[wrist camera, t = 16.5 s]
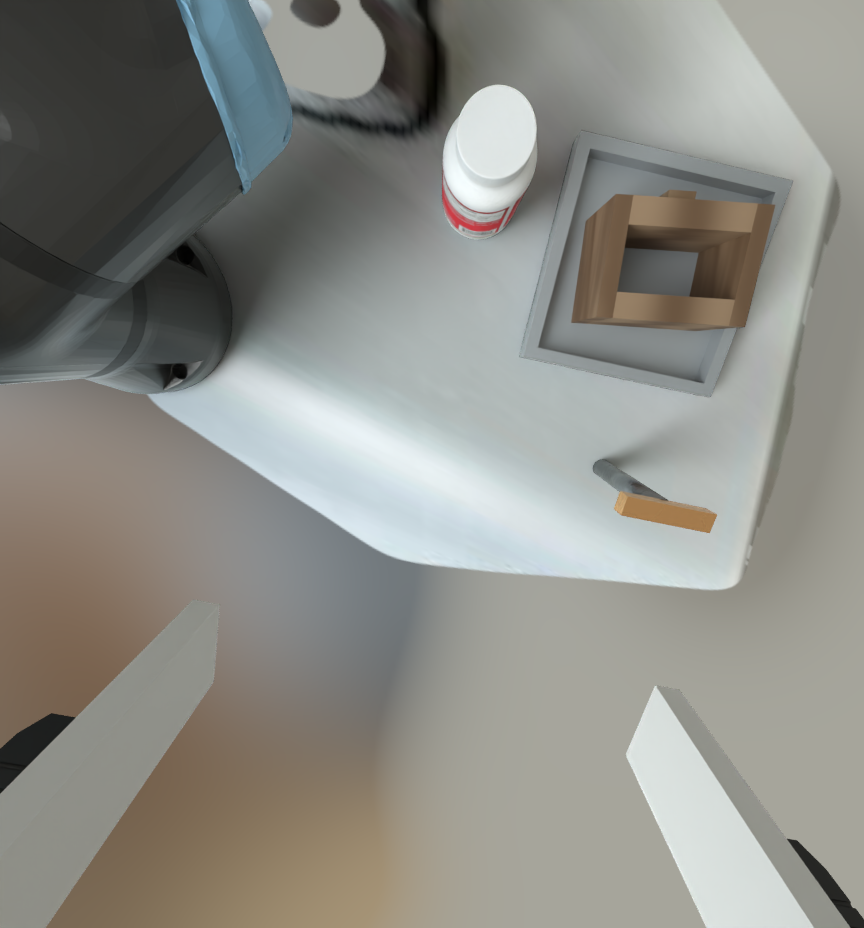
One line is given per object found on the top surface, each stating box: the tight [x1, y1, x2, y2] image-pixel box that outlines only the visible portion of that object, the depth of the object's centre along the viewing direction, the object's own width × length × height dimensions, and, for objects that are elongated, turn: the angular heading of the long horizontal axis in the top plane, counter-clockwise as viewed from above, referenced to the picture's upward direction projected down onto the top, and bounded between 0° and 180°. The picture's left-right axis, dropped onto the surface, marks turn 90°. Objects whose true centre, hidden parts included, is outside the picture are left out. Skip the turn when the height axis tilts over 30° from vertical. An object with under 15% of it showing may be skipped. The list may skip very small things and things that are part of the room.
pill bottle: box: [442, 85, 537, 240], centre depth 29 cm, size 6×6×11 cm
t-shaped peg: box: [593, 460, 717, 533], centre depth 34 cm, size 6×2×12 cm, turn 78°
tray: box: [519, 130, 793, 397], centre depth 35 cm, size 17×17×2 cm
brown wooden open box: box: [571, 190, 775, 331], centre depth 32 cm, size 11×9×6 cm
